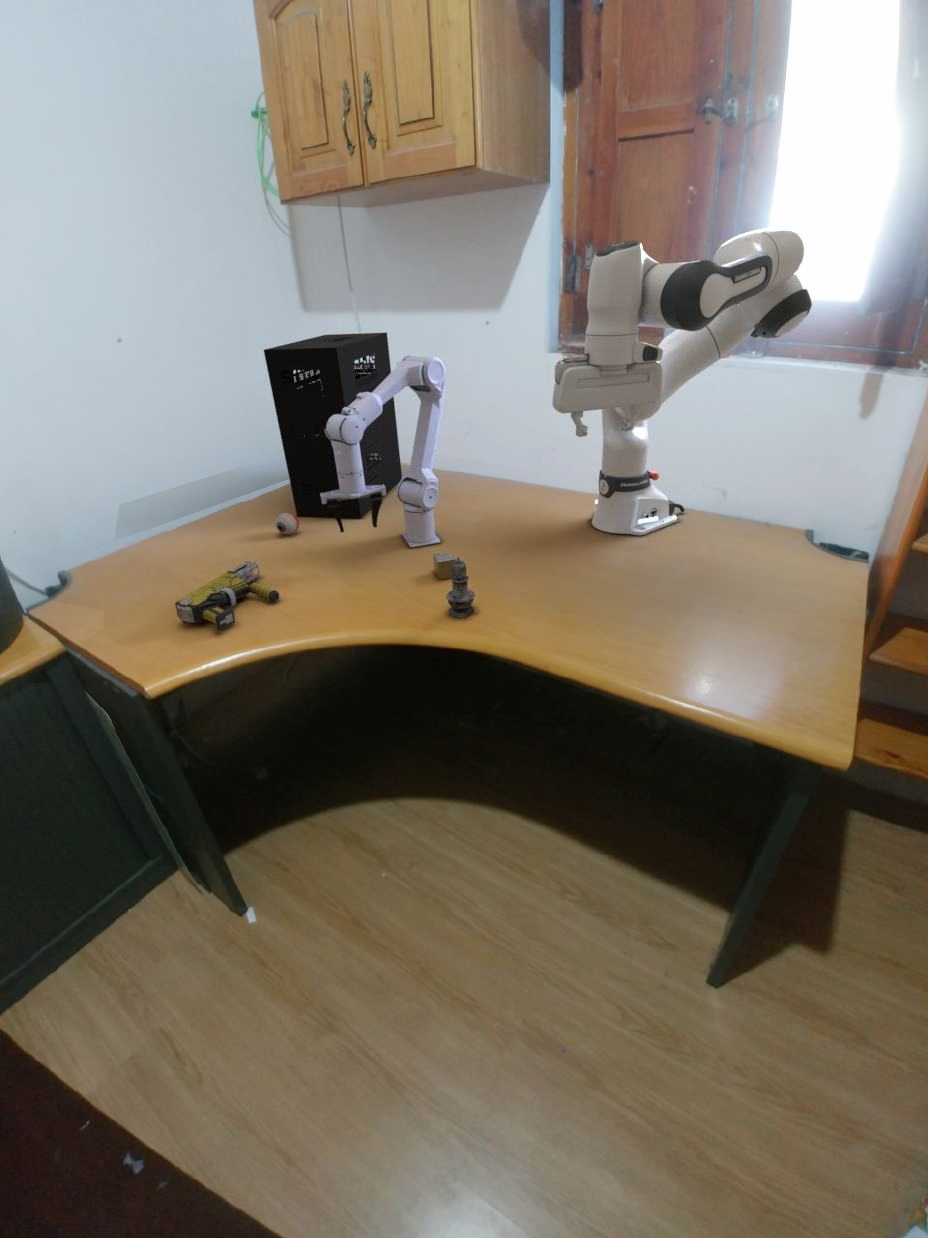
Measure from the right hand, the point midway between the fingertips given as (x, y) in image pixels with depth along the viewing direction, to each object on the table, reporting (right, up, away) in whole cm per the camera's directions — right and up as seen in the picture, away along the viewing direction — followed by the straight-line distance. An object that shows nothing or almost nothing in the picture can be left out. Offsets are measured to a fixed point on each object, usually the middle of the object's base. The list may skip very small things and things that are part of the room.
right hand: (604, 433), depth 111 cm
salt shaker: (-27, -33, +12) cm, 44 cm away
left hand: (-51, -13, +29) cm, 60 cm away
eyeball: (-74, -11, +54) cm, 92 cm away
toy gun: (-74, -31, +19) cm, 83 cm away
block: (-30, -24, +27) cm, 47 cm away
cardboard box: (-61, +4, +80) cm, 100 cm away
